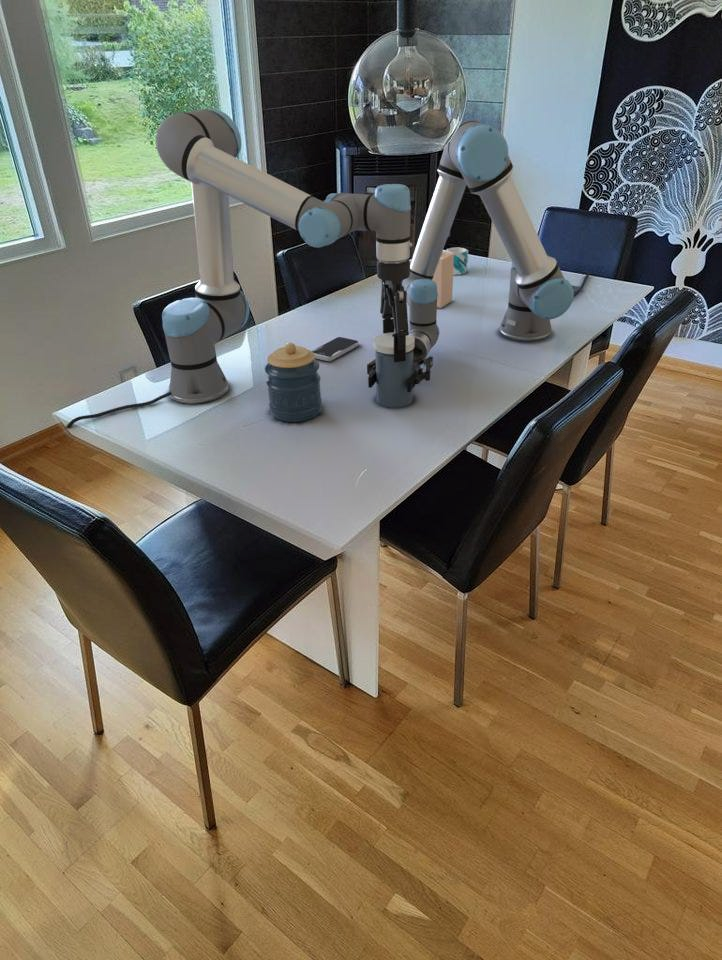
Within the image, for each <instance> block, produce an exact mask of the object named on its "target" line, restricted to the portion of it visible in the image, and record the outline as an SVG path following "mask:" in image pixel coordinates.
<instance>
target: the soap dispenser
mask: <svg viewBox="0 0 722 960" xmlns="http://www.w3.org/2000/svg"><path fill="white" fill-rule="evenodd" d="M450 237H451V231H450V232H449V235H448V237H447V238H450ZM453 264H454V253H448V252H446V251H442V254H441V257H440V260H439V262H438V265H437V268H436V271H435V273H434V277H433V279H432V281H434V282H436V284H437V293H438V297H437V309H438V308H439V309H442V308H443V307H445V306H446V305H448V304H449V303H451V302H453V287H454V275H453Z"/></svg>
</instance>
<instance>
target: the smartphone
mask: <svg viewBox="0 0 722 960" xmlns="http://www.w3.org/2000/svg"><path fill="white" fill-rule="evenodd" d="M357 347H359V340H356V339H351V338H347V337H343V336H337V337H335V338H333V339H332V340H329V341H328V342H325V343H324V344H322V345H320V346H318V347H317V348H314V349H313V350H311V351H312V352H313V353H314V354H315V360H319V361H320V360H321V361H325V362H332V361H334V360H336V359H337V358H340V357H341V356H343V355H344V354H346V353H349V352H350V351H351V350H353V349H355V348H357Z"/></svg>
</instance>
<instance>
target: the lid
mask: <svg viewBox="0 0 722 960" xmlns="http://www.w3.org/2000/svg"><path fill="white" fill-rule="evenodd" d="M392 334H395V331H394V332H390V333H384V334H383V333H381V334H378V335H376V336H374V338H373V341H372V342H373V344H372V345H373V349H374V350H376V351H378V352H381V353H385V354H394V337H392ZM414 346H415V339H414V337H413V336H411V335H408V336H406V352H409V351H411V350H412V349H413V348H414Z"/></svg>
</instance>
